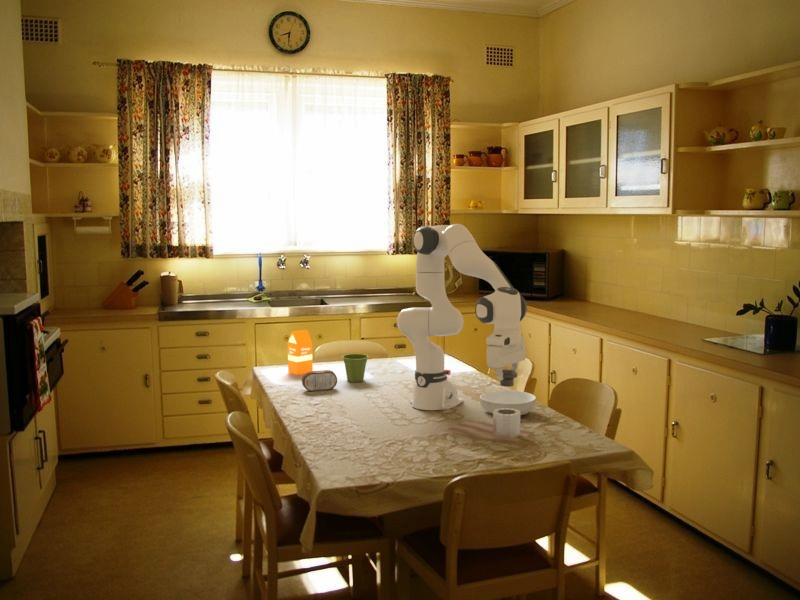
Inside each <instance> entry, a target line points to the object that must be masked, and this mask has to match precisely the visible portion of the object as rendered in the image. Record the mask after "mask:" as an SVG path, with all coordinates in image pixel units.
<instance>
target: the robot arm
mask: <svg viewBox="0 0 800 600" xmlns="http://www.w3.org/2000/svg"><path fill="white" fill-rule="evenodd" d="M412 240H413V241H412V243H413V247H414V249H415V251H416V252H417V254H416V261H415V291H416V293H417V294H418V295H419V296H420V297H422V298H424V299H426V300H427V301H429V303H430V304H431V306H430V307H420V306H418V307H415V306H413V307H408V308H404V309H401V311H400V312H399V313H398V315H397V317H396V325H397V328H398V330H399V331H400V333H401V334H402V335H404V336H405V337H407V339H408V340H409V341H410V343H411V345H412V347H413V350H414V353H415V354H414V356H415V371H414V380H415V382H413V389H412V399H411V400H410V403H411V407H413V408H415V409H417V410H422V411H442V410H444V411H447V410H449V409H451V408H454V407H457V406H458V405H461V403H463V402H464V398H462V397H461V396H458V387H456V385H455V384H454V383H452V381H450V380H449V379H448V376H450V375H451V373H452V370H450V369H445V352H444V350H443V347H440V346H439V345H438V344H435V343H433V342H432V341H431V340H430V338H429V337H435V336H436V337H448V336H449V337H450V336H454V335H459V333H460V332H461V331H462V330H463V328H464V323H465V321H464V317H463V314H462V313H461V312H460V310H459V309H458V308H456V307H455V306H454V305H453V304H452V303H451V302H450V300H449V297H448V295H447V292H446V284H445V259H446V257H447V256H448V257H449V260H450V263H451V264H452V266H453V267H454V269H455V270H456V271H457V272H459V273H460V274H462V275H465V276H469V277H475V278H478V279H482V280H484V281H486V282H487V283H489V284H490V285H491V287H492V288H493V289H494V292H493V293H490V294H487V295H484V296H480V298H479V299H477V302H475V303H476V304H475V307H474V308H475V309H474V310H475V311H474V312H475V316H476V318H477V320H478V321H479V322H480V323H482V324H486V325H492V324H494V326H493V331H492V332H491V334H489V336H487V337H486V339H485V343H486V345H487V346H486V365H487V368H488V369H493V370H495V372H496V378H497V379H496V380H498V381H500V380H504V375H503V373H502V370H503V369H504V367H508V366H510V367H511V369H510V370H514V372H516V373H517V371H518V367H519V363H520V362H523V361H526V359H527V358H526V357H527V351H526V350H527V346H526V341H525V340H524V336H523V334H522V326H521V321H522V320H523V319H524V318H525V316H526V314H527V311H528V306H527V305H528V304H527V302H526V300H525V298H524V297H523V296H522V294H521V293H520V292H519V291H518V289H516V288H514V286H513V284H512V283H511V282H510V280H509V279H508V277H507V276H506V275H505V274H504V272H503V271H502V270H501V268H500V267H499V266H498V264H497V263H496V262H495V261H494V260H492V259H491V258H490V257H488V256H487V254H485V253H484V252H483V250H482V249H481V248H480V247H479V244H478V243H477V242H476V241H477V240H475V238H474V236H473V235H472V233H471V232H470V231H469V230H468V228H467V227H466V226H465V225H463V224H461V223H453V224H451V225H449V224H441V225H440V224H439V225H432V226H427V225H425V226H421V227H419V228H417V229H416V231H415V232H414V234H413V237H412ZM447 375H448V376H447Z"/></svg>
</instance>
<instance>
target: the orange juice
mask: <svg viewBox="0 0 800 600" xmlns="http://www.w3.org/2000/svg"><path fill="white" fill-rule="evenodd" d="M287 362H288V363H287V365H288V366H287V368H288V369H287V370H288V373H289V372H290V373H289V374H293V373H294V375H297V374H299V375H304V374H306V373H307V372H310V371H314V370H313V342H312V339H311V336H310V333H309V331H308V329H301V330H295V331H291V333H290V336H289V339H288V340H287ZM303 373H304V374H303Z"/></svg>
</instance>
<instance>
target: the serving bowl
mask: <svg viewBox="0 0 800 600" xmlns="http://www.w3.org/2000/svg"><path fill="white" fill-rule="evenodd" d="M536 400H537V397H536V395H535V394H532V393H529V392H525V391H520V390H505V389H504V390H494V391H493V390H492V391H488V392H484V393H482V394H480V395H479V401H480V404H481V407H482V408H483V410H485V411H486V413H489V414H492V415H493V410H495V409H500V408H511V409H517V410H519V411H520V416H524V415H527V414H528V413H530V412H531V411H532V410H533V409H534V408H535V405H536Z"/></svg>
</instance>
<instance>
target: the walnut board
mask: <svg viewBox="0 0 800 600" xmlns="http://www.w3.org/2000/svg"><path fill="white" fill-rule="evenodd" d="M444 431H446V432H449V433H450V432H451V433H455V434H459V435H464V436H469V437H473V438H478V439H483V440H487V441H492V442H496V443H501V444H505V445H513V444H514V443H516V442H518V441H521V440H522V439H524V438H526V437H528V436H530V435H532V434H534V432H533V431H528V430H525V429H520V437H518V438H515V439H501V438H496V437H495V436H493V423H489V422H485V421H480V420H475V419H467V420H465V421H462V422H459V423H457V424H455V425H452V426H451V427H448V428H446V429H444Z"/></svg>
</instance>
